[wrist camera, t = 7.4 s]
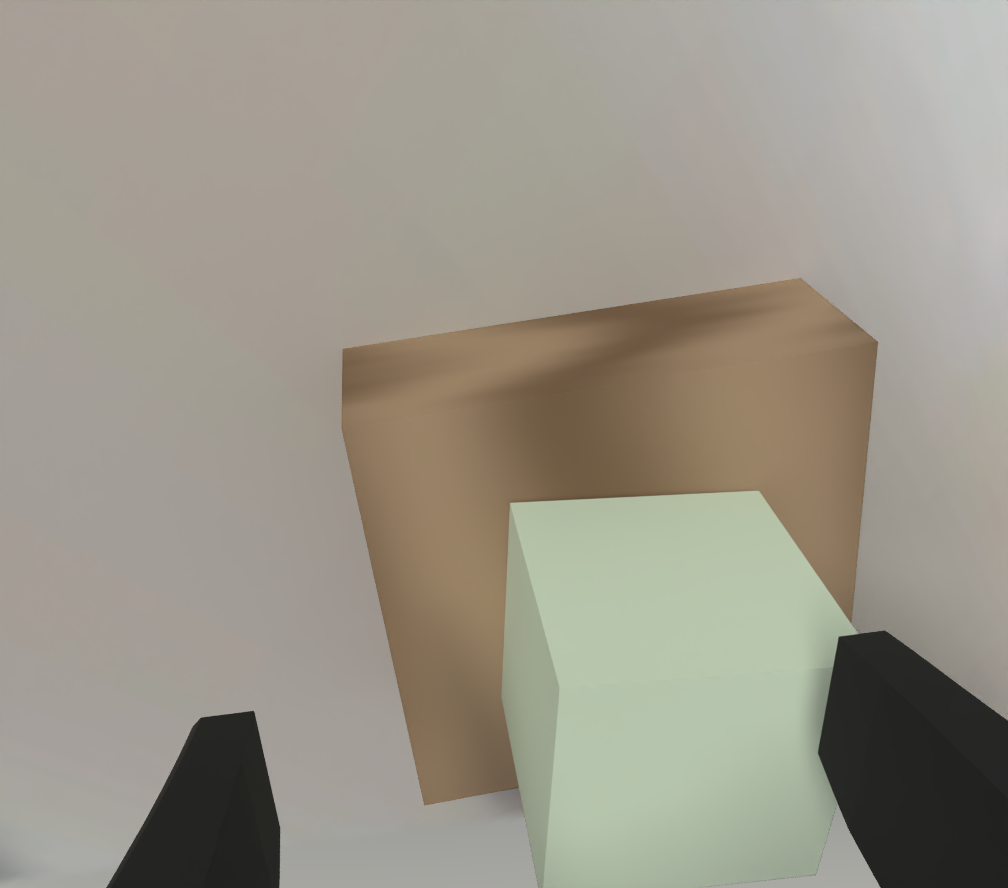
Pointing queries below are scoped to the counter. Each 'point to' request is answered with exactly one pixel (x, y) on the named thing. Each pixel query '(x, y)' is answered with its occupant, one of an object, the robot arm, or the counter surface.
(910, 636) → the counter surface
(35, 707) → the counter surface
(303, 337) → the counter surface
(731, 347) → the walnut block
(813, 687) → the sage cube
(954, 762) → the robot arm
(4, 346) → the counter surface
